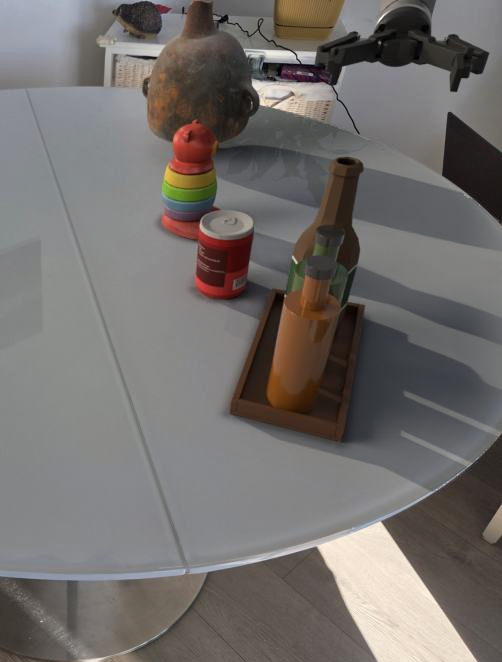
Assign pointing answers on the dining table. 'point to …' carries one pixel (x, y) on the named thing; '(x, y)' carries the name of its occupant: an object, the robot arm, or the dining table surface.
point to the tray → (335, 383)
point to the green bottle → (327, 245)
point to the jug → (200, 80)
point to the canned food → (223, 253)
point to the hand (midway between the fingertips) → (394, 77)
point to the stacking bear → (190, 180)
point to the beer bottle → (335, 222)
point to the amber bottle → (304, 339)
